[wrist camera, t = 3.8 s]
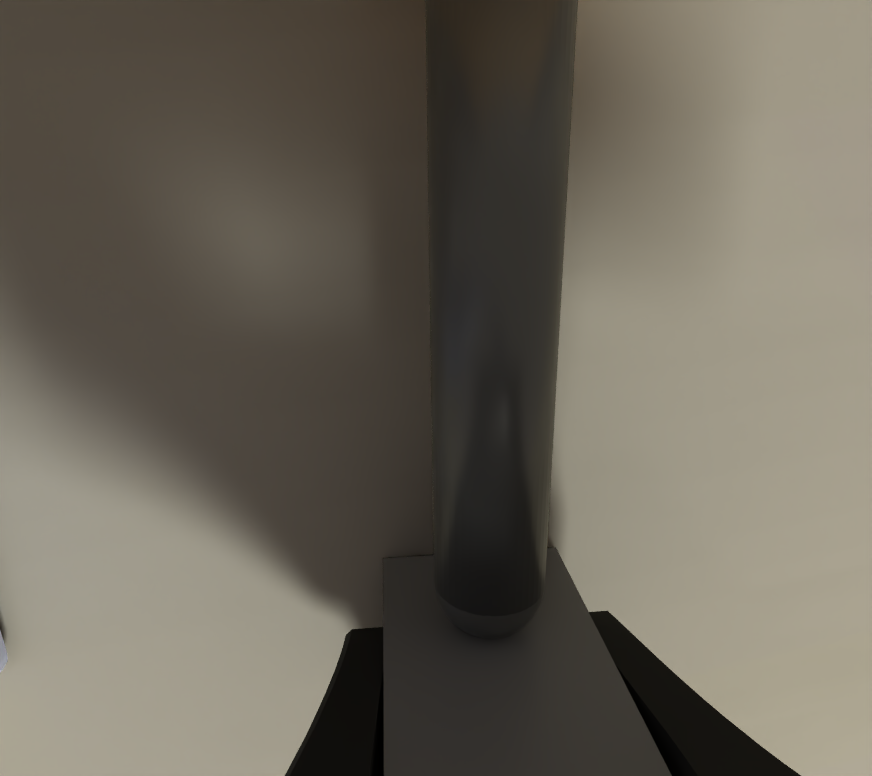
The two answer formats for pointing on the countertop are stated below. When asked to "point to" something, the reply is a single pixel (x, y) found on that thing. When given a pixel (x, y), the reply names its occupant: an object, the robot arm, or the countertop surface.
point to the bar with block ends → (498, 432)
